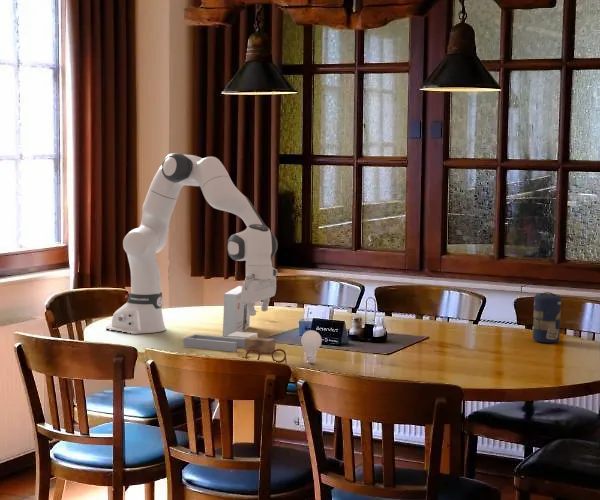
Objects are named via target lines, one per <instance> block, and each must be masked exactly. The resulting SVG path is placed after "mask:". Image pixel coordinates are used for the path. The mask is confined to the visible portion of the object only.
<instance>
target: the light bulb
mask: <svg viewBox="0 0 600 500" xmlns="http://www.w3.org/2000/svg"><path fill="white" fill-rule="evenodd" d="M322 340H323V339H322V335H320V333H319V332H317V331H316V330H312V329H311V330H310V329H309V330H306V331H305V332H304V333H303V334H302V336H301V337H300V343H301V347H302V348H303V349H304V351H305V357H306V363H308V364H309V365H313V364H315V363H316V359H317V355H318V351H319V349H320V347H321V345H322V342H323V341H322Z"/></svg>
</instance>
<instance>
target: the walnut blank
mask: <svg viewBox="0 0 600 500" xmlns="http://www.w3.org/2000/svg"><path fill="white" fill-rule="evenodd" d="M251 349H255V350H257V351H259V352H260V353H262V352H270V353H272V352H273V351H274V350H276V339H275V338H268V337H267V338H265V337H258V338H257V337H250V338H247V339H246V347H245V353H246V352H247V351H248V350H251ZM250 353H256V354H258V353H257V352H255V351H251V352H250Z"/></svg>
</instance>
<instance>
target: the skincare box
mask: <svg viewBox="0 0 600 500" xmlns="http://www.w3.org/2000/svg"><path fill="white" fill-rule="evenodd" d="M241 293H242V285H238V286H236V287H235V288H233V289H230V290H229V291H226V292H225V293H224V294H223V297H224V298H223V319H222V320H223V321H222V322H223V323H222V337H227V335H229V334H232V333H234V332H237V331H239V332H245V330H247V329H249V328H250V324H251V323H250V321H251V320H250V318H251V316H250V315H249V309H248V306H247V304H243V303H242V301H241Z"/></svg>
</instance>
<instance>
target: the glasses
mask: <svg viewBox="0 0 600 500" xmlns="http://www.w3.org/2000/svg"><path fill="white" fill-rule="evenodd" d="M251 351H255V352H257V353H256V354H257V355H258V356H257V359H256V360H259V361H260V357H261V356H262V355H271V360H272V361H273V362H274V361H276V362H275V363H277V362H281V363H283V362H285V365H286V364H287V365H288V363H287V362H288V360H287V353H286V351H285V350H284V349H281V348H277V349H276V348H275V350H274V351H273V352H272V353H270V352H262V353H260V352H259V351H257V350H255V349H251V350H248V351H247V352H246V351H245V360H246V359H248V360H249V357H248V355H249V353H252V352H251ZM255 352H254V353H255ZM276 352H282V353H283V354H284V356H283V359H281V360H276V359H275V358H274V354H275V353H276Z"/></svg>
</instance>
